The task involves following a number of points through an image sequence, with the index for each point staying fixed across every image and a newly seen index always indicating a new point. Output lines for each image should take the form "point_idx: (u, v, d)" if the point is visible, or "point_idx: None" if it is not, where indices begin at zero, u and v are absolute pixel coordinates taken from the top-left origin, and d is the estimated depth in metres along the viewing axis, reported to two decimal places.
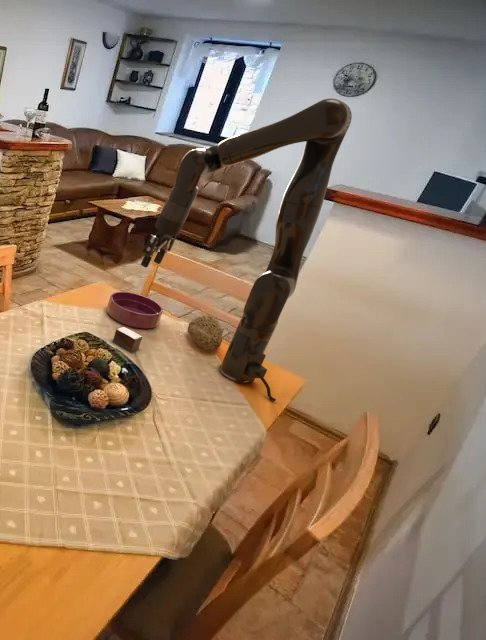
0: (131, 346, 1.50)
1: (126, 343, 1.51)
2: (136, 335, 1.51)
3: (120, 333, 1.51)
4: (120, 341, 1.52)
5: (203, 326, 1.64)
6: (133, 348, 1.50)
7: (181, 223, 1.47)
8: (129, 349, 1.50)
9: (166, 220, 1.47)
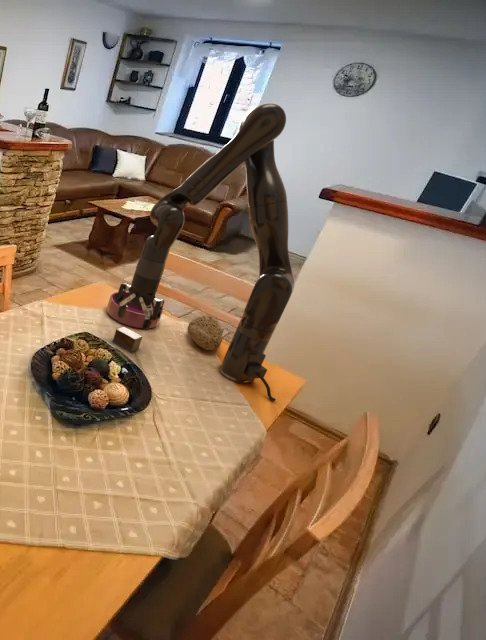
0: (131, 346, 1.50)
1: (126, 343, 1.51)
2: (136, 335, 1.51)
3: (120, 333, 1.51)
4: (120, 341, 1.52)
5: (203, 326, 1.64)
6: (133, 348, 1.50)
7: None
8: (129, 349, 1.50)
9: (159, 280, 1.41)
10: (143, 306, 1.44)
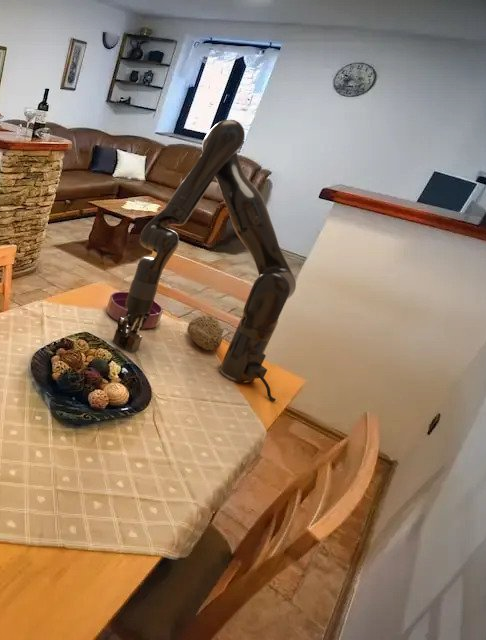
0: (131, 346, 1.50)
1: (126, 343, 1.51)
2: (136, 335, 1.51)
3: None
4: None
5: (203, 326, 1.64)
6: (133, 348, 1.50)
7: None
8: (129, 349, 1.50)
9: None
10: (140, 323, 1.50)
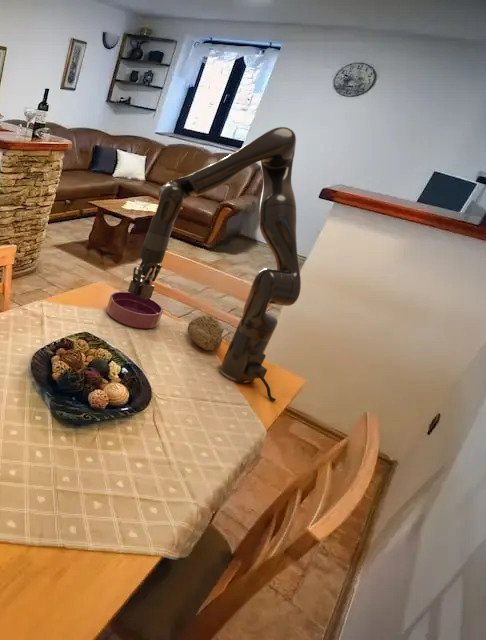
0: (145, 294, 1.67)
1: (140, 292, 1.68)
2: (149, 284, 1.68)
3: None
4: None
5: (203, 326, 1.64)
6: (146, 296, 1.67)
7: None
8: (143, 297, 1.67)
9: None
10: (153, 274, 1.67)
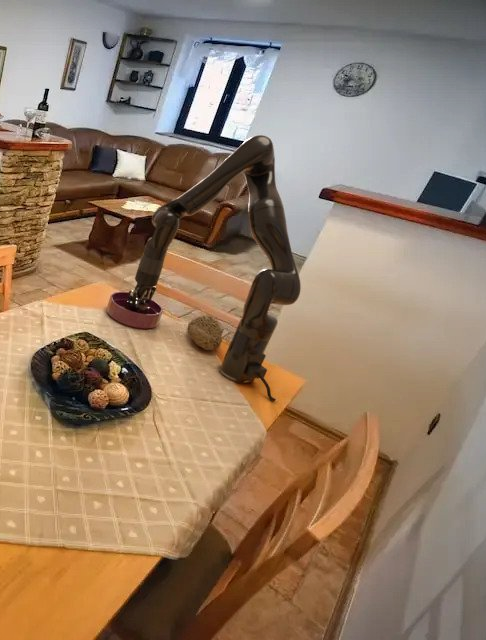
0: None
1: None
2: (144, 306, 1.71)
3: None
4: None
5: (203, 326, 1.64)
6: None
7: None
8: None
9: None
10: (148, 296, 1.70)
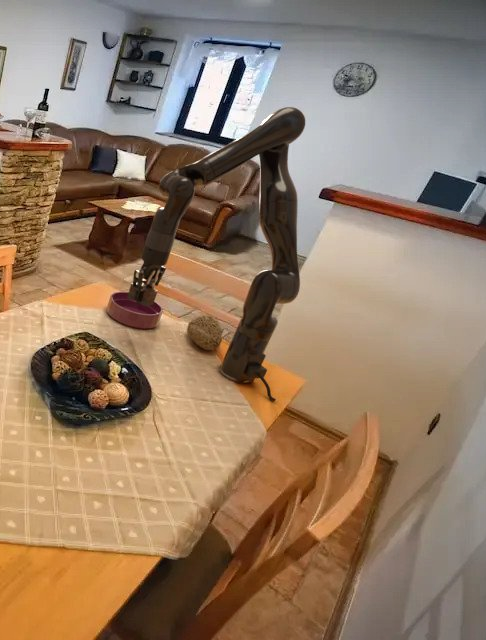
0: (146, 300, 1.47)
1: None
2: (151, 289, 1.48)
3: None
4: None
5: (203, 326, 1.64)
6: (148, 302, 1.48)
7: None
8: (144, 303, 1.48)
9: None
10: (156, 277, 1.47)
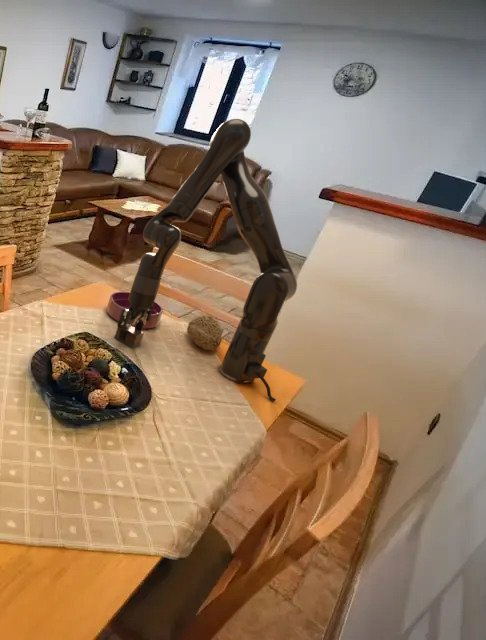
0: (133, 342, 1.52)
1: (128, 339, 1.53)
2: (137, 331, 1.54)
3: None
4: None
5: (203, 326, 1.64)
6: (135, 344, 1.53)
7: None
8: (131, 345, 1.53)
9: None
10: (145, 317, 1.52)
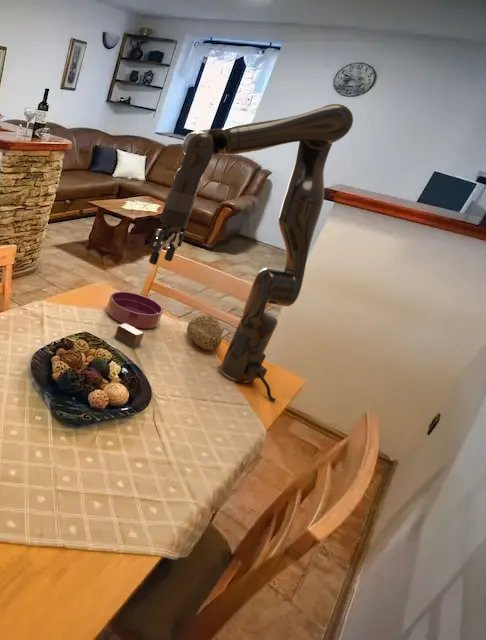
0: (133, 342, 1.52)
1: (128, 339, 1.53)
2: (137, 331, 1.54)
3: (122, 329, 1.54)
4: (122, 337, 1.55)
5: (202, 326, 1.64)
6: (135, 344, 1.53)
7: None
8: (131, 345, 1.53)
9: None
10: (177, 239, 1.45)
